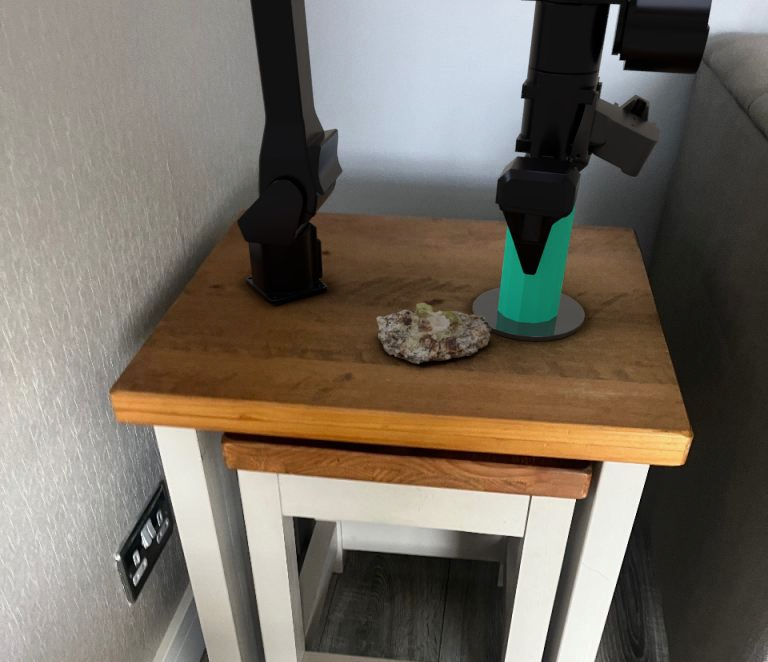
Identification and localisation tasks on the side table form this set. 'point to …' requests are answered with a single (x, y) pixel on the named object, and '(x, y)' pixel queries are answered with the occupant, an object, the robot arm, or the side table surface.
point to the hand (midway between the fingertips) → (537, 254)
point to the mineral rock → (432, 334)
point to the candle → (535, 278)
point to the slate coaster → (556, 328)
